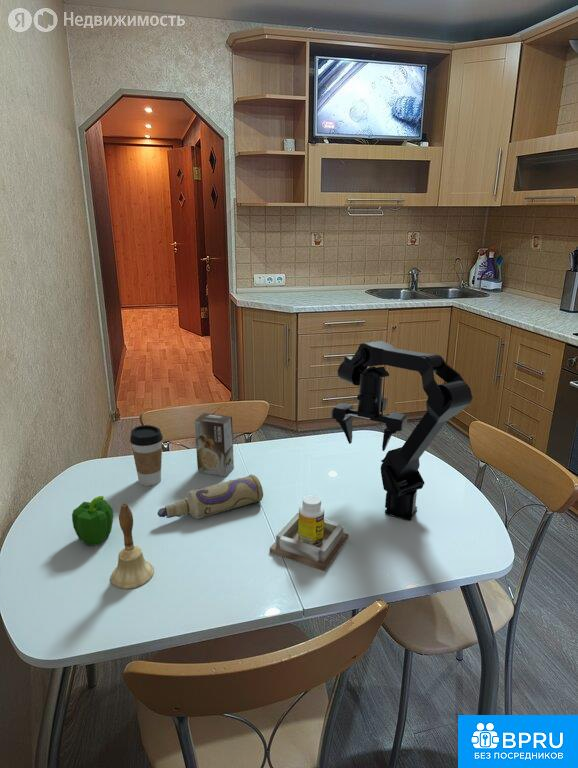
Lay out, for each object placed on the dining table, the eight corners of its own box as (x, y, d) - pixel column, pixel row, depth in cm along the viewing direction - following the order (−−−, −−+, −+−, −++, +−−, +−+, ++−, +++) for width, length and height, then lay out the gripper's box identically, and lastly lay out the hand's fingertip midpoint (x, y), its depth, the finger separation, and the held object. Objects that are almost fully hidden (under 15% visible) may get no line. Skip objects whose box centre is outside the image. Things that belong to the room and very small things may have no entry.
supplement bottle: (316, 551, 106) (318, 508, 103) (293, 543, 108) (294, 502, 105) (327, 537, 110) (328, 496, 107) (304, 530, 113) (305, 490, 110)
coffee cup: (153, 470, 142) (149, 421, 137) (172, 479, 137) (168, 429, 132) (127, 481, 136) (122, 430, 131) (146, 491, 131) (141, 439, 126)
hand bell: (108, 592, 95) (100, 519, 90) (112, 564, 102) (105, 496, 98) (153, 585, 97) (147, 513, 92) (154, 559, 104) (148, 491, 99)
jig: (348, 537, 112) (348, 524, 111) (325, 570, 101) (325, 556, 100) (296, 522, 118) (297, 509, 117) (269, 551, 107) (269, 538, 106)
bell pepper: (72, 552, 106) (67, 511, 103) (77, 531, 113) (72, 492, 110) (114, 546, 108) (109, 506, 105) (116, 525, 116) (112, 487, 113)
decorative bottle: (252, 492, 131) (251, 469, 129) (264, 505, 125) (264, 482, 123) (154, 516, 120) (152, 492, 118) (162, 533, 113) (160, 507, 111)
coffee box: (235, 467, 144) (233, 415, 140) (226, 477, 139) (224, 424, 134) (206, 462, 147) (204, 412, 142) (196, 472, 141) (193, 420, 136)
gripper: (415, 387, 128) (409, 442, 133) (347, 377, 137) (344, 429, 141) (403, 400, 119) (398, 459, 124) (331, 388, 127) (329, 443, 132)
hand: (366, 446), depth 130 cm, fingers open, 9 cm apart
